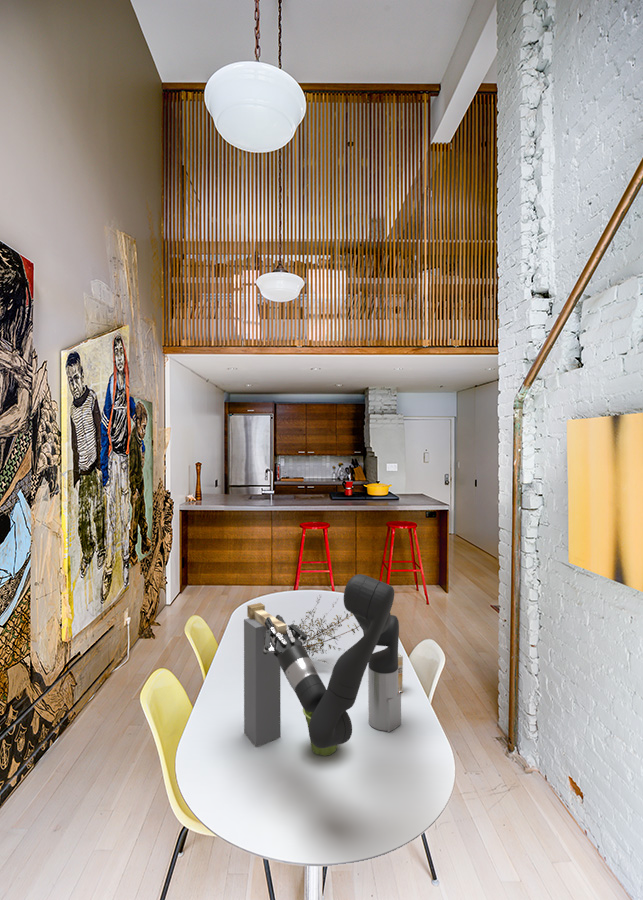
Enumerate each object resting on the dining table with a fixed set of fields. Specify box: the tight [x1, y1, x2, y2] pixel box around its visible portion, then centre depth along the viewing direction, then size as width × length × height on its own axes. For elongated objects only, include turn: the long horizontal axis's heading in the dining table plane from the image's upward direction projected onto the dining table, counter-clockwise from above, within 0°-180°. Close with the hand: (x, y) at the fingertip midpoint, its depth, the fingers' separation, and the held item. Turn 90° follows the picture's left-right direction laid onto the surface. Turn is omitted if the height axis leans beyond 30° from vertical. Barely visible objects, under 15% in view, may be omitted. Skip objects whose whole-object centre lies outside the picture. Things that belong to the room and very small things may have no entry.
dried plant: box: [292, 594, 360, 665], centre depth 182 cm, size 30×31×45 cm
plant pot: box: [302, 707, 338, 757], centre depth 130 cm, size 12×12×11 cm
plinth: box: [243, 617, 281, 748], centre depth 136 cm, size 8×8×34 cm
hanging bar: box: [246, 602, 288, 636], centre depth 134 cm, size 18×4×3 cm, turn 34°
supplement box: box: [398, 651, 404, 692], centre depth 161 cm, size 8×5×13 cm, turn 105°
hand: (272, 618), depth 131 cm, fingers closed on hanging bar, 2 cm apart
